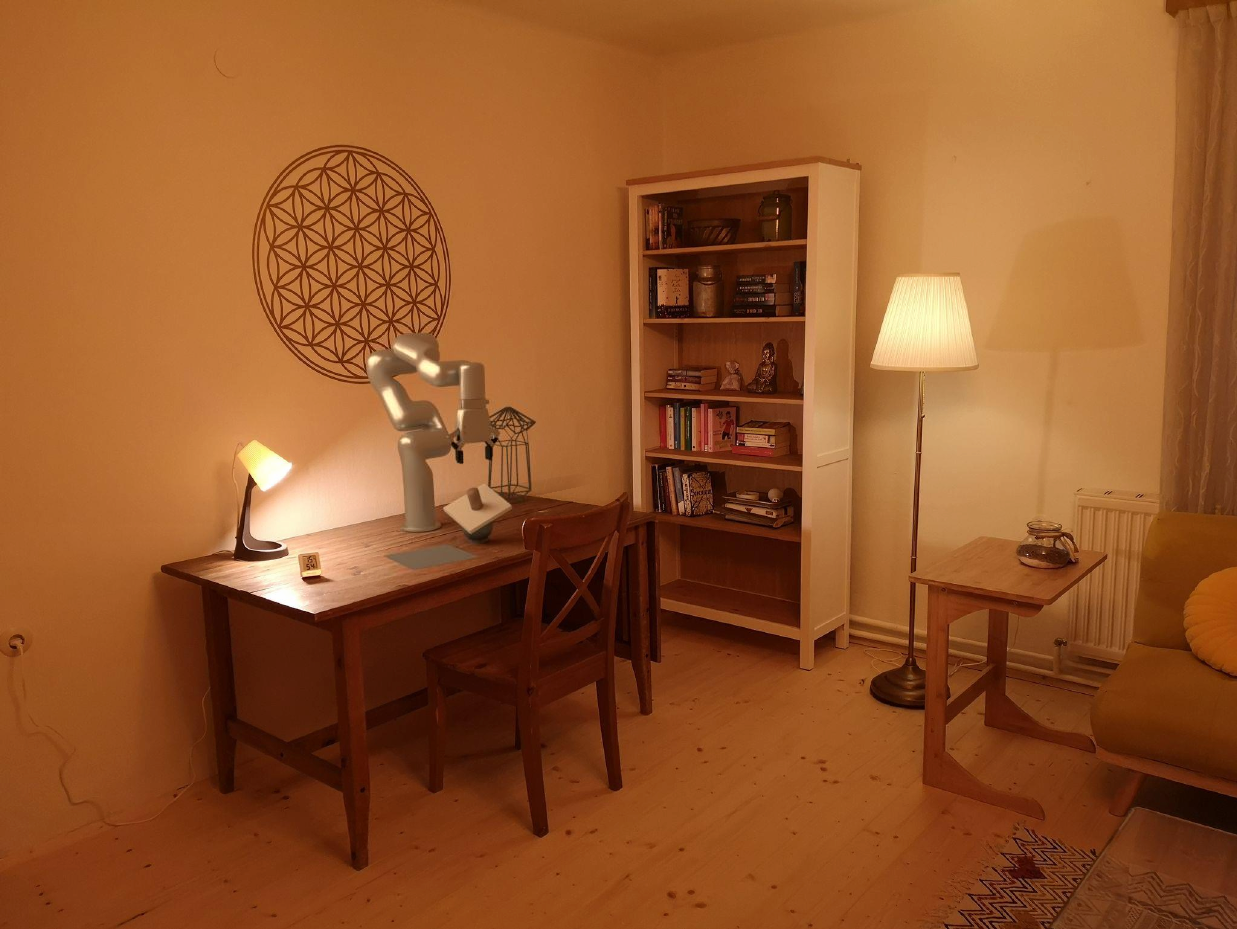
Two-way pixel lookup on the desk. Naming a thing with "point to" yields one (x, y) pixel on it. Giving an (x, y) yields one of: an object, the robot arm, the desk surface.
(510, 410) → the geometric lantern
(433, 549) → the slate mat
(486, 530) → the mortar and pestle
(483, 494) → the cover board
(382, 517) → the desk surface
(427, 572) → the desk surface
